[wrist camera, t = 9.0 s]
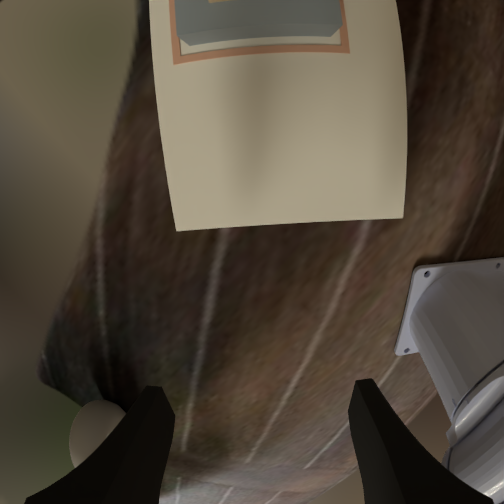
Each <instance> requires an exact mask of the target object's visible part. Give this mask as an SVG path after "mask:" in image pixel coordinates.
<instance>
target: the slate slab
mask: <svg viewBox="0 0 504 504" xmlns="http://www.w3.org/2000/svg"><path fill="white" fill-rule="evenodd" d="M174 2H175V18H176V33H177V36H178V37H179V38H180V39H181V40H183V41H184V42H185V43H186V44H188V45H189V46H193V45H199V44H206V43H213V42H220V41H228V40H238V39H249V38H262V37H285V36H319V37H331V36H332V35H333V34H334V33H335V32H336V31H337V30H338V29H339V28H340V27H341V26H342V25H343V23H342V16H341V9H340V2H339V0H230V1H222V2H215V3H209V1H208V0H174Z"/></svg>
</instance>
